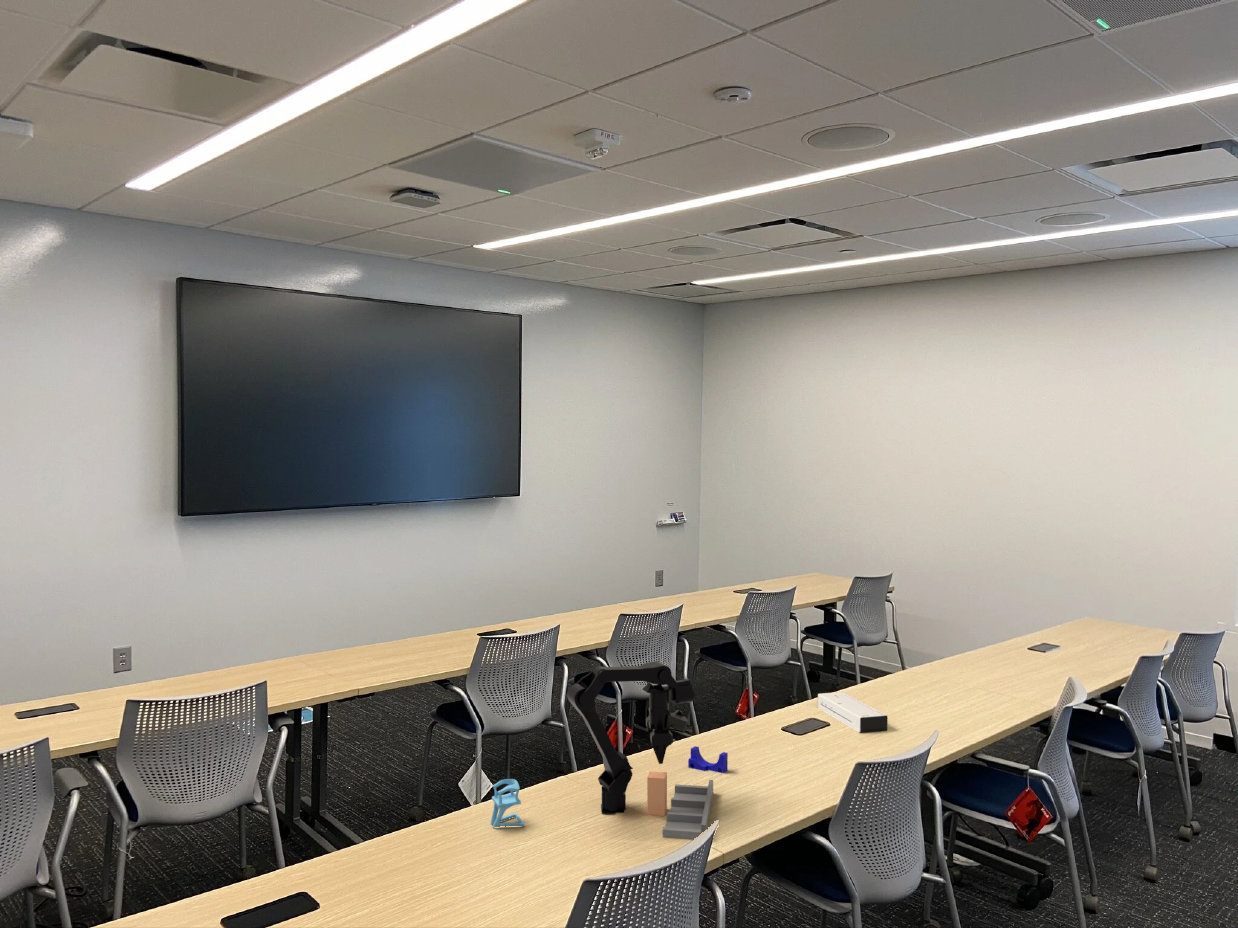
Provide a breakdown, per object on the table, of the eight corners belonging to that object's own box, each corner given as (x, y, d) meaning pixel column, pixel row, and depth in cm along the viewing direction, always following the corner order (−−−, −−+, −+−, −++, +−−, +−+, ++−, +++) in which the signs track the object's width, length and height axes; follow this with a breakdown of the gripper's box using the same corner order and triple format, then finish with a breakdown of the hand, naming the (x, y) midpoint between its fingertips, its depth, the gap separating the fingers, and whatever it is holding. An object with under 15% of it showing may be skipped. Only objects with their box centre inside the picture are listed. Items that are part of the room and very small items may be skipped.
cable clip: (688, 767, 291) (688, 749, 291) (694, 763, 295) (694, 745, 295) (721, 775, 285) (721, 756, 285) (727, 771, 289) (727, 752, 289)
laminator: (817, 708, 360) (817, 693, 360) (845, 706, 363) (845, 691, 363) (860, 734, 327) (860, 717, 327) (890, 731, 330) (890, 715, 330)
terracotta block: (647, 815, 253) (647, 777, 252) (649, 808, 257) (649, 771, 257) (664, 816, 252) (664, 778, 252) (666, 810, 257) (666, 772, 256)
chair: (488, 821, 249) (487, 778, 249) (516, 816, 252) (516, 774, 252) (495, 832, 242) (495, 788, 242) (524, 826, 245) (524, 783, 245)
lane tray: (662, 838, 238) (662, 821, 238) (675, 791, 270) (675, 777, 270) (705, 841, 236) (705, 825, 236) (713, 794, 268) (713, 779, 268)
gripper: (690, 714, 253) (690, 768, 254) (682, 696, 272) (682, 747, 272) (651, 715, 253) (651, 769, 253) (645, 697, 271) (645, 747, 271)
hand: (659, 758), depth 262 cm, fingers open, 9 cm apart
